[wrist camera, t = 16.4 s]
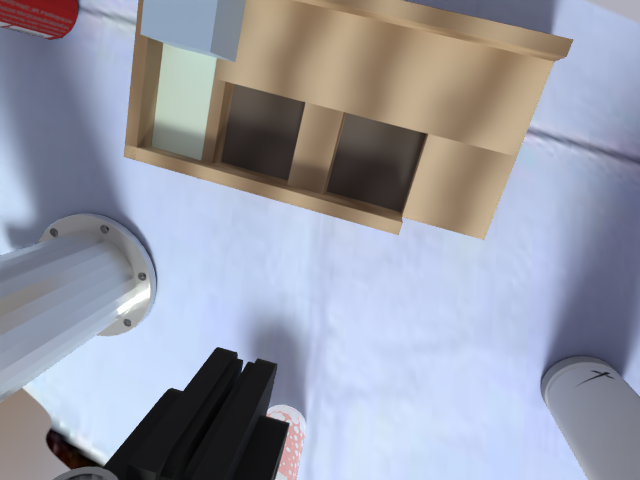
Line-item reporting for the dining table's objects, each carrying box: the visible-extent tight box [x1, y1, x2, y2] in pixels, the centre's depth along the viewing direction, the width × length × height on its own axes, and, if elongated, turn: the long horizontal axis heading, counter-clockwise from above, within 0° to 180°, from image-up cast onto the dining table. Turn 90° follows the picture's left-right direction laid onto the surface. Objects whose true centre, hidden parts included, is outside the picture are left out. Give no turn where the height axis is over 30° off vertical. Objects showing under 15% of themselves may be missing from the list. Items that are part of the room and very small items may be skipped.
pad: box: [151, 43, 217, 160], centre depth 32 cm, size 4×13×2 cm, turn 166°
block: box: [140, 0, 246, 62], centre depth 28 cm, size 5×5×4 cm
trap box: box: [124, 0, 573, 240], centre depth 30 cm, size 29×15×4 cm, turn 76°
